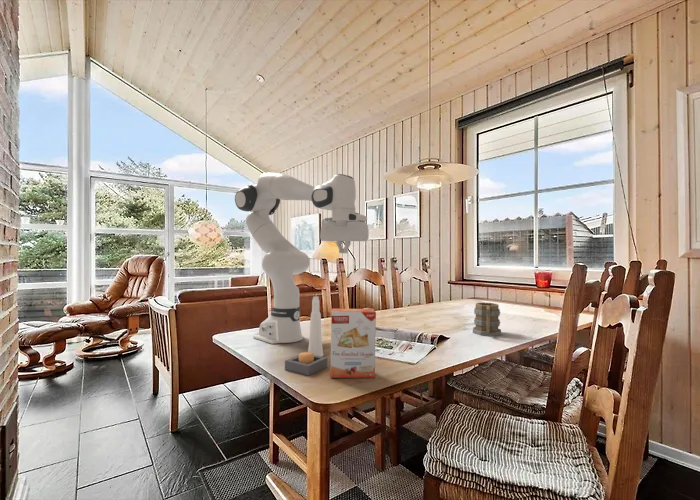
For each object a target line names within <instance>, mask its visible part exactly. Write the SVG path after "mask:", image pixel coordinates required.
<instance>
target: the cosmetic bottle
mask: <svg viewBox="0 0 700 500" xmlns="http://www.w3.org/2000/svg"><path fill="white" fill-rule="evenodd" d="M319 298H320V297H319V296H317V295H315V296H312V299H311V312H310V320H309V321H310V322H309V340H308V349H307V352H311V353H314V355H315V356H320V357H324V351H323V350H324V349H323V339H322V337H323V335H322V316H321V315H322V314H321V312H320V304H321V303H320V299H319Z"/></svg>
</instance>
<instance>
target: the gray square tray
mask: <svg viewBox="0 0 700 500" xmlns="http://www.w3.org/2000/svg"><path fill="white" fill-rule="evenodd" d="M327 367H328V357H325V356H322V357H320V356H315V355H314V362H311V363H309V364H306V363H301V362H299V354H298V355H296V356H293V357H290V358H288V359H285V360H284V370H285V371H288V372H293V373H296V374H300V375H305V376H308V377H309V376H311V375H313V374H316V373H317V372H319V371H321V370H323V369H325V368H327Z"/></svg>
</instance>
